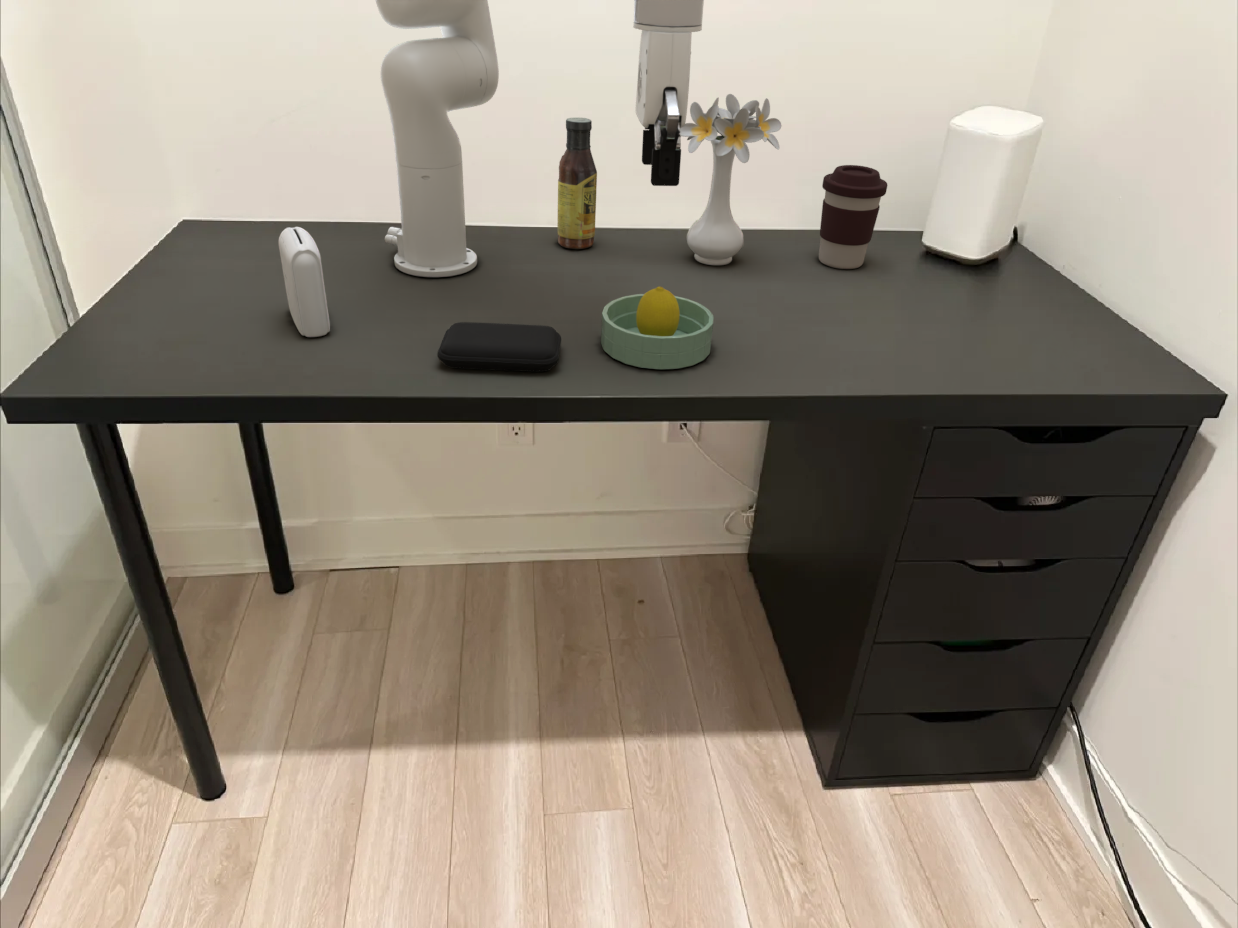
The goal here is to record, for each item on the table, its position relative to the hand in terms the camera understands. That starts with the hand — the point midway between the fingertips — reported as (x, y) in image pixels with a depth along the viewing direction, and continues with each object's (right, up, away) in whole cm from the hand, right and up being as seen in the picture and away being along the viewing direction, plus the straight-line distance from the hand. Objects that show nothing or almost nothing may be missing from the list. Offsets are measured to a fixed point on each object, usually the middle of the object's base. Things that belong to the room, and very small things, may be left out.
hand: (659, 174), depth 106 cm
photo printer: (-46, -16, +12) cm, 50 cm away
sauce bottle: (-12, +2, +43) cm, 45 cm away
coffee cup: (+32, -1, +41) cm, 52 cm away
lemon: (0, -19, +10) cm, 22 cm away
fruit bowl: (0, -19, +10) cm, 22 cm away
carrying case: (-20, -21, +6) cm, 29 cm away
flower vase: (+10, -1, +39) cm, 41 cm away
